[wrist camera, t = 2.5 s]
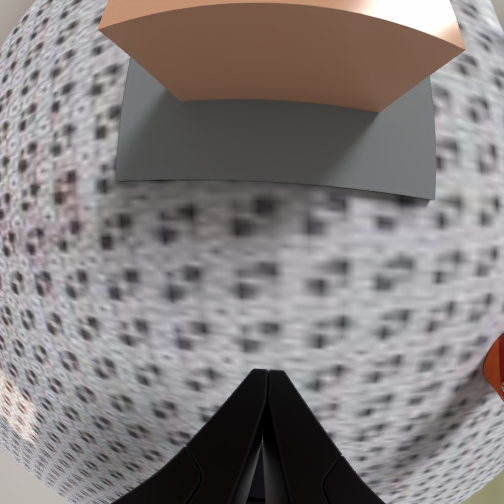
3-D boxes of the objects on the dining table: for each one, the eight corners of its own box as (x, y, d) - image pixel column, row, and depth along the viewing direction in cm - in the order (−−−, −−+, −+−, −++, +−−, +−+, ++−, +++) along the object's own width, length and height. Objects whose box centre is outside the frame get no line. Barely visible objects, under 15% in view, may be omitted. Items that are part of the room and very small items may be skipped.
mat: (430, 199, 16) (434, 200, 16) (119, 181, 18) (115, 180, 17) (396, -34, 12) (397, -38, 11) (166, -45, 13) (164, -48, 13)
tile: (379, 112, 15) (465, 49, 5) (180, 101, 16) (97, 29, 6) (376, 74, 15) (446, -5, 5) (184, 63, 15) (117, -22, 6)
